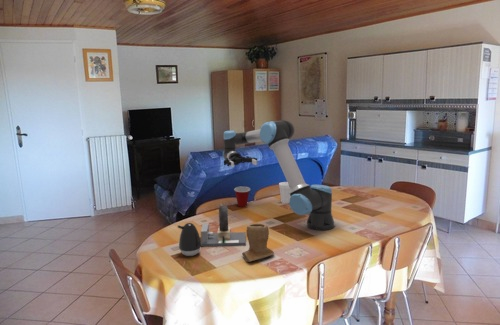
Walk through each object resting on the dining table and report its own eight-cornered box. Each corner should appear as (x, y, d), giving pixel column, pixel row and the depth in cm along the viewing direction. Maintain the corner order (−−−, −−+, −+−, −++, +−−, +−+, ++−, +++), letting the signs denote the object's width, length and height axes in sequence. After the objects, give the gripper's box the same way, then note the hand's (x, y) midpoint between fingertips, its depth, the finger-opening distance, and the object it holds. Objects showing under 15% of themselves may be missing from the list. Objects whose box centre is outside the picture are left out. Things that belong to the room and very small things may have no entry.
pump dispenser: (180, 250, 181) (178, 220, 178) (201, 248, 182) (200, 219, 179) (177, 259, 171) (176, 227, 168) (200, 257, 172) (199, 226, 169)
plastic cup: (238, 209, 243) (238, 191, 241) (231, 205, 252) (231, 187, 250) (253, 206, 248) (253, 189, 245) (246, 202, 257) (245, 185, 255)
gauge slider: (230, 234, 195) (229, 204, 192) (229, 243, 183) (228, 211, 181) (218, 234, 195) (217, 204, 192) (217, 243, 183) (216, 212, 180)
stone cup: (262, 248, 182) (262, 218, 179) (277, 256, 172) (277, 225, 169) (235, 256, 173) (234, 225, 171) (249, 265, 164) (249, 232, 161)
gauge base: (245, 234, 199) (245, 221, 197) (245, 245, 185) (245, 231, 184) (203, 236, 198) (203, 222, 197) (201, 246, 184) (200, 232, 183)
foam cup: (292, 204, 251) (292, 185, 249) (278, 203, 253) (278, 185, 251) (293, 200, 260) (293, 182, 258) (280, 199, 262) (280, 181, 260)
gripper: (253, 162, 234) (265, 168, 214) (214, 165, 226) (223, 172, 207) (253, 150, 233) (265, 155, 213) (214, 153, 225) (223, 158, 205)
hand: (244, 163), depth 210 cm, fingers open, 13 cm apart
